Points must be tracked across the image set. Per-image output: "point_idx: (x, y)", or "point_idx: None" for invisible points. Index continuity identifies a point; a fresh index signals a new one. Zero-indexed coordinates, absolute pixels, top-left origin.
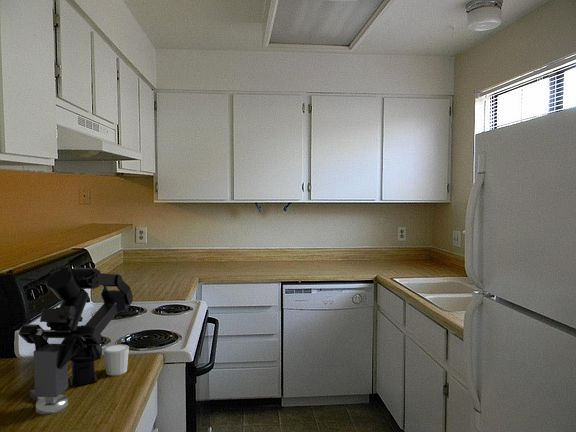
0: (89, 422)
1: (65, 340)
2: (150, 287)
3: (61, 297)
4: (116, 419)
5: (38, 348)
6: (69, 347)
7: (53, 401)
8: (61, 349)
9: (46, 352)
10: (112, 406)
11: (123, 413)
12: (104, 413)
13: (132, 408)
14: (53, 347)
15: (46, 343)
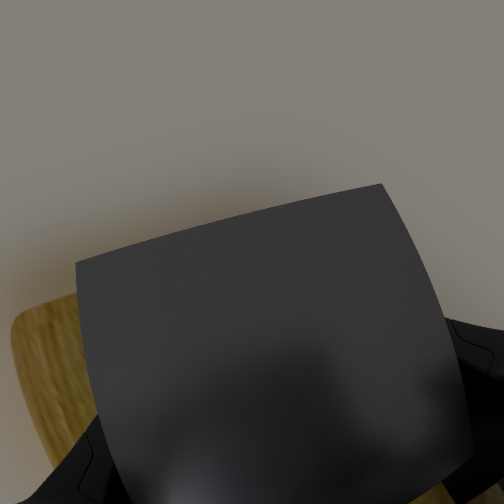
0: (74, 319)
1: None
2: None
3: None
4: (30, 348)
5: (430, 284)
6: (57, 478)
7: None
8: (115, 431)
9: (200, 229)
10: (74, 418)
11: (31, 381)
12: (67, 375)
13: (29, 409)
14: (252, 425)
15: (485, 469)
